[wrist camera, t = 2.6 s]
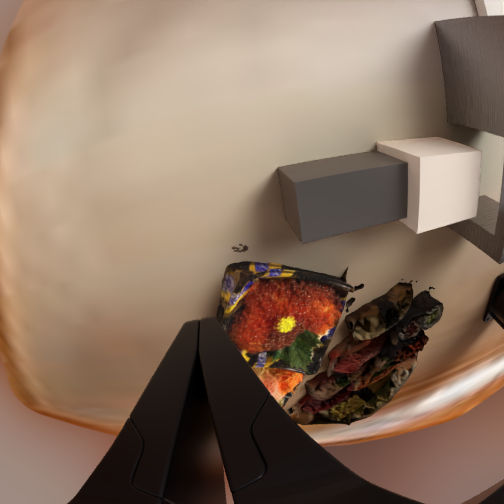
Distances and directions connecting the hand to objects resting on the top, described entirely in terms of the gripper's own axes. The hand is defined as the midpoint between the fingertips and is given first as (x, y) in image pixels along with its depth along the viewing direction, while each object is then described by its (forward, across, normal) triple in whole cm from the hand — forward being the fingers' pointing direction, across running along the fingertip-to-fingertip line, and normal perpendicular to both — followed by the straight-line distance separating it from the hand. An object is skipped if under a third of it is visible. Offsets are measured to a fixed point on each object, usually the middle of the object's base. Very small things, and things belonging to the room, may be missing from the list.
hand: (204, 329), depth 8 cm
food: (+10, -5, +14) cm, 18 cm away
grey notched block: (+9, -19, -3) cm, 21 cm away
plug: (+9, -10, 0) cm, 13 cm away
